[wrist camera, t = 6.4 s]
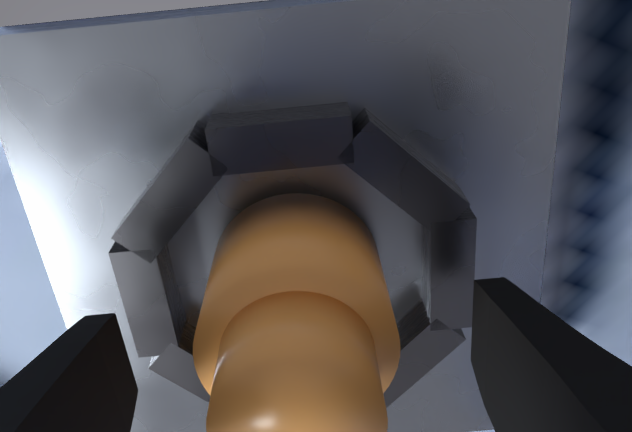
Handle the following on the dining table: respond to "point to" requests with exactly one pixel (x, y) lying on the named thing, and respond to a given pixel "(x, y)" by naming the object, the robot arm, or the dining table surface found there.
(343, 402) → the orange rounded knob
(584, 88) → the dining table surface
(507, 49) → the junction plate
